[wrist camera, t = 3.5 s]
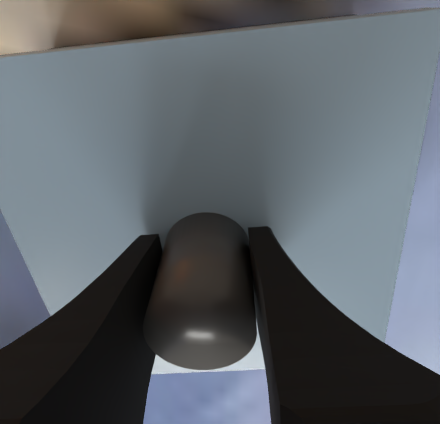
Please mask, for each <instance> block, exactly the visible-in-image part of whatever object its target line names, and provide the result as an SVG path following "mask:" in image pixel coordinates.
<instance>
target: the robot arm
mask: <svg viewBox="0 0 440 424" xmlns="http://www.w3.org/2000/svg"><path fill="white" fill-rule="evenodd" d="M248 235H249V248H250V261H251V271H252V278H253V288H254V300H255V312H256V321H257V326H258V332H259V337H260V342H261V348H262V353H263V359H264V364H265V369H266V376H267V383H268V392H269V403H270V414H271V424H440V375H439V374H437V373H435V372H433V371H432V370H430V369H428V368H426V367H424V366H423V365H421V364H419V363H417V362H415V361H414V360H412V359H410V358H408V357H406V356H405V355H403V354H401V353H399V352H398V351H396V350H395V349H393V348H392V347H390V346H388V345H387V344H385V343H384V342H382V341H381V340H379V339H378V338H376V337H374V336H373V335H372V334H370V333H369V332H368V331H366V330H365V329H363V328H362V327H361V326H359V325H358V324H357V323H355V322H354V321H353V320H351V319H350V318H349V317H347V316H346V315H345V314H344V313H343V312H341V311H340V310H339V309H338V308H337V307H335V306H334V305H333V304H332V303H331V302H330V301H329V300H328V299H327V298H326V297H324V296H323V295H322V294H321V293H320V292H319V291H318V290H317V289H316V288H315V287H314V286H313V285H312V284H311V282H310V281H309V280H308V279H307V278H306V277H305V276H304V275H303V274H302V273H301V271H300V270H299V269H298V268H297V267H296V265H295V264H294V263H293V261H292V260H291V259H290V258H289V256H288V255H287V254H286V252H285V251H284V250H283V248H282V247H281V245H280V244H279V242H278V241H277V239H276V237H275V236H274V234H273V232H272V230H271V228H269V227H268V226H262V227H248ZM161 255H162V246H161V242H160V237H159V234H150V235H140V236H139V237H138V238H136V239H135V240H134V241H133V242H132V243H131V244H130V246H129V247H128V248H127V249H126V250H125V251H124V252H123V253H122V254H121V255H120V256H119V257H118V258H117V259H116V260H115V261H114V262H113V263H112V264H111V265H110V266H109V267H108V268H107V269H106V270H105V271H104V272H103V273H102V274H101V275H100V276H98V277H97V278H96V279H95V280H94V281H93V282H92V283H91V284H90V285H88V286H87V287H86V288H85V289H84V290H83V291H82V292H81V293H80V294H78V295H77V296H76V297H75V298H74V299H72V300H71V301H70V302H69V303H68V304H66V305H65V306H64V307H62V308H61V309H60V310H58V311H57V312H56V313H54V314H53V315H52V316H51V317H49V318H48V319H46V320H45V321H44V322H42V323H41V324H39V325H38V326H36V327H35V328H33V329H32V330H30V331H29V332H27V333H26V334H24V335H22V336H21V337H19V338H18V339H16V340H15V341H13V342H12V343H10V344H9V345H7V346H5V347H4V348H2V349H0V424H143V419H144V412H145V406H146V399H147V392H148V387H149V382H150V377H151V373H152V369H153V365H154V361H155V357H156V354H155V353H154V352H153V351H152V350H151V348H150V347H149V346H148V344H147V342H146V340H145V338H144V334H143V322H144V318H145V314H146V311H147V307H148V303H149V300H150V296H151V292H152V289H153V285H154V281H155V277H156V274H157V270H158V266H159V263H160V259H161Z"/></svg>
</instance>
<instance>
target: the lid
mask: <svg viewBox="0 0 440 424" xmlns="http://www.w3.org/2000/svg"><path fill="white" fill-rule="evenodd" d="M439 53H440V8H419V9H410V10H401V11H392V12H383V13H374V14H365V15H356V16H347V17H338V18H329V19H320V20H311V21H302V22H293V23H284V24H275V25H266V26H257V27H248V28H239V29H230V30H221V31H212V32H203V33H194V34H185V35H176V36H167V37H158V38H149V39H140V40H131V41H122V42H113V43H104V44H95V45H86V46H77V47H68V48H59V49H50V50H41V51H32V52H23V53H14V54H5V55H0V210H1V212H2V214H3V216H4V218H5V221H6V223H7V225H8V227H9V229H10V231H11V233H12V235H13V238H14V240H15V242H16V244H17V246H18V248H19V250H20V252H21V255H22V257H23V259H24V261H25V263H26V265H27V267H28V269H29V272H30V274H31V276H32V278H33V280H34V282H35V284H36V286H37V289H38V291H39V293H40V295H41V297H42V299H43V301H44V303H45V306H46V308H47V310H48V312H49V314H50V316H52V315H53V314H54V313H56V312H57V311H58V310H60V309H61V308H62V307H64V306H65V305H66V304H68V303H69V302H70V301H71V300H72V299H74V298H75V297H76V296H77V295H78V294H80V293H81V292H82V291H83V290H84V289H85V288H86V287H87V286H88V285H90V284H91V283H92V282H93V281H94V280H95V279H96V278H97V277H98V276H100V275H101V274H102V273H103V272H104V271H105V270H106V269H107V268H108V267H109V266H110V265H111V264H112V263H113V262H114V261H115V260H116V259H117V258H118V257H119V256H120V255H121V254H122V253H123V252H124V251H125V250H126V249H127V248H128V247H129V246H130V244H131V243H132V242H133V241H134V240H135V239H136V238H138V237H139V236H140V235H150V234H159V237H160V242H161V246H162V255H161V259H160V263H159V266H158V270H157V274H156V277H155V281H154V285H153V289H152V292H151V296H150V300H149V303H148V307H147V311H146V314H145V318H144V322H143V334H144V338H145V340H146V342H147V344H148V346H149V347H150V348H151V350H152V351H153V352H154V353H155V354H156V357H155V361H154V365H153V369H152V373H151V374H167V373H190V372H213V371H236V370H259V369H265V364H264V359H263V353H262V348H261V342H260V337H259V332H258V326H257V321H256V312H255V300H254V288H253V278H252V271H251V261H250V248H249V235H248V227H262V226H268V227H269V228H271V230H272V232H273V234H274V236H275V237H276V239H277V241H278V242H279V244H280V245H281V247H282V248H283V250H284V251H285V252H286V254H287V255H288V256H289V258H290V259H291V260H292V261H293V263H294V264H295V265H296V267H297V268H298V269H299V270H300V271H301V273H302V274H303V275H304V276H305V277H306V278H307V279H308V280H309V281H310V282H311V284H312V285H313V286H314V287H315V288H316V289H317V290H318V291H319V292H320V293H321V294H322V295H323V296H324V297H326V298H327V299H328V300H329V301H330V302H331V303H332V304H333V305H334V306H335V307H337V308H338V309H339V310H340V311H341V312H343V313H344V314H345V315H346V316H347V317H349V318H350V319H351V320H353V321H354V322H355V323H357V324H358V325H359V326H361V327H362V328H363V329H365V330H366V331H368V332H369V333H370V334H372V335H373V336H374V337H376V338H378V339H379V340H381V341H382V342H385V336H386V331H387V326H388V321H389V315H390V310H391V305H392V300H393V294H394V289H395V284H396V279H397V273H398V268H399V263H400V258H401V252H402V247H403V242H404V237H405V231H406V226H407V221H408V216H409V210H410V205H411V200H412V195H413V189H414V184H415V179H416V173H417V168H418V163H419V158H420V152H421V147H422V142H423V137H424V131H425V126H426V121H427V116H428V110H429V105H430V100H431V95H432V89H433V84H434V79H435V74H436V68H437V63H438V58H439Z"/></svg>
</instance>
